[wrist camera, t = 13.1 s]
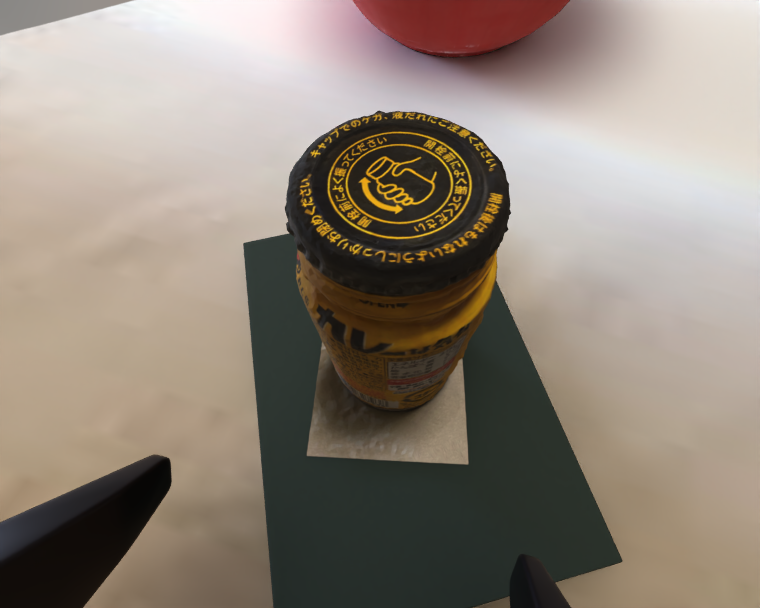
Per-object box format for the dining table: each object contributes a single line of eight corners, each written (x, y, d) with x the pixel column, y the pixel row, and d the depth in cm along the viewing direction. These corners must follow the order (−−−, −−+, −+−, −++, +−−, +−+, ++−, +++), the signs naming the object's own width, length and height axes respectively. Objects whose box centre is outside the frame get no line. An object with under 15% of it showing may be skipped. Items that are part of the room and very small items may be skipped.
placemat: (615, 559, 15) (623, 561, 15) (282, 660, 14) (277, 667, 13) (457, 203, 24) (459, 197, 23) (246, 248, 23) (242, 242, 22)
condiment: (458, 298, 20) (533, 83, 9) (467, 464, 16) (610, 423, 6) (328, 294, 20) (258, 84, 10) (307, 456, 17) (154, 402, 6)
